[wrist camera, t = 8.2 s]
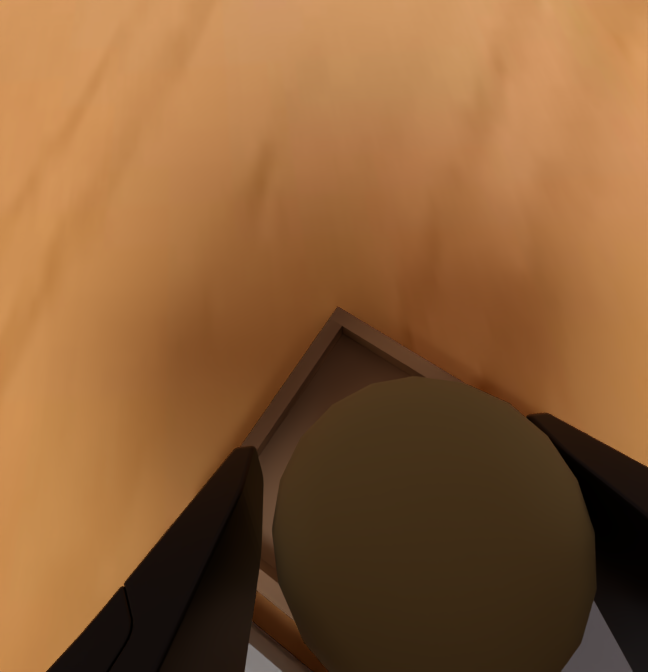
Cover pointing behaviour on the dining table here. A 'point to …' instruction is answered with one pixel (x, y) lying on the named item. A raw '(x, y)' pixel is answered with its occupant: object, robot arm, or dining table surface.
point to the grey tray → (269, 655)
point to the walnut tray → (322, 408)
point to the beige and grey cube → (597, 649)
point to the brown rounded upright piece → (433, 535)
